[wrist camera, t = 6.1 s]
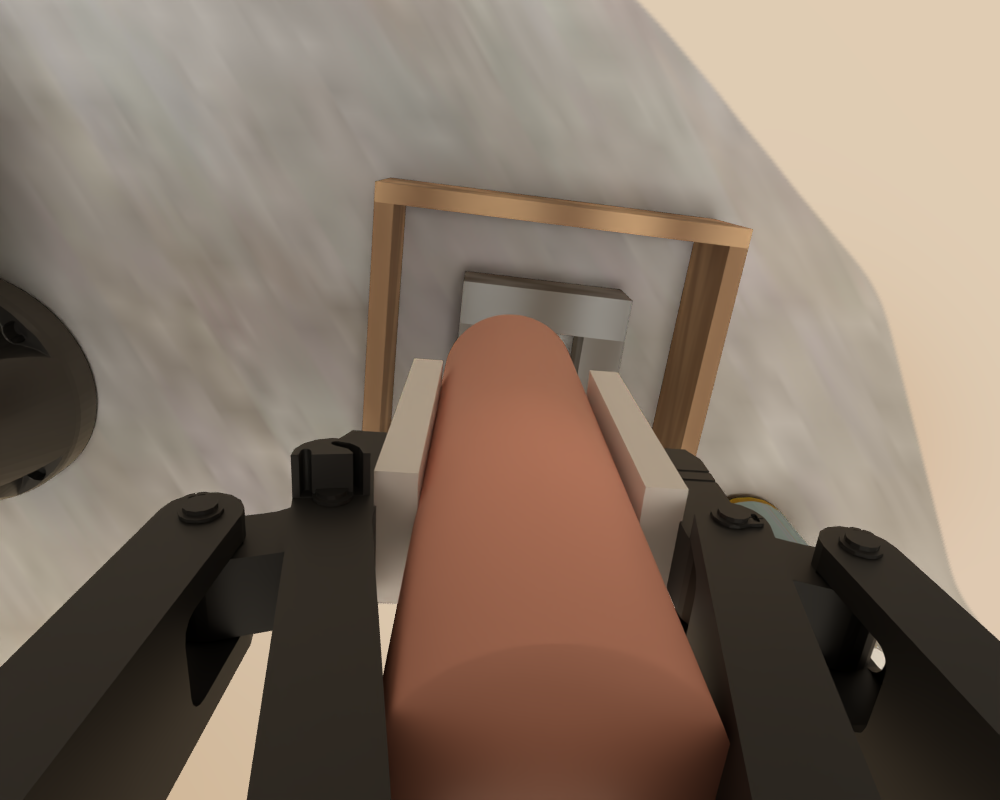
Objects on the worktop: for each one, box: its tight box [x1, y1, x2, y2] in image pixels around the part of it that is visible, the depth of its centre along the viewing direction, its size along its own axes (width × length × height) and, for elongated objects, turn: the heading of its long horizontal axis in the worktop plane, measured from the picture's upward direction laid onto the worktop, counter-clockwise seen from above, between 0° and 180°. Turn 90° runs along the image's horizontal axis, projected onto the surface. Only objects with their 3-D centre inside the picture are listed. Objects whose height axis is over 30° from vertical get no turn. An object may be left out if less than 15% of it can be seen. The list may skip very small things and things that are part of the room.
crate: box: [362, 178, 753, 456], centre depth 40 cm, size 20×20×6 cm
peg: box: [383, 315, 730, 800], centre depth 14 cm, size 4×4×14 cm
